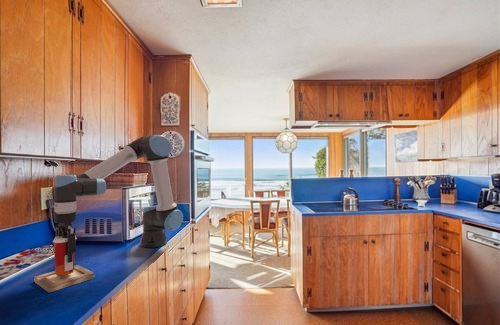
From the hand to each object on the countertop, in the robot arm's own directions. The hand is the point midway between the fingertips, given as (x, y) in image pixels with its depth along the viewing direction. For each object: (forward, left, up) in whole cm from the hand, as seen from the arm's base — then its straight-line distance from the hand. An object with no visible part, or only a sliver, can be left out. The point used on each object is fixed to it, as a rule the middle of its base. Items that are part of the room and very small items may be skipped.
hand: (64, 267), depth 111 cm
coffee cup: (0, 0, -2) cm, 2 cm away
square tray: (0, 0, -5) cm, 5 cm away
